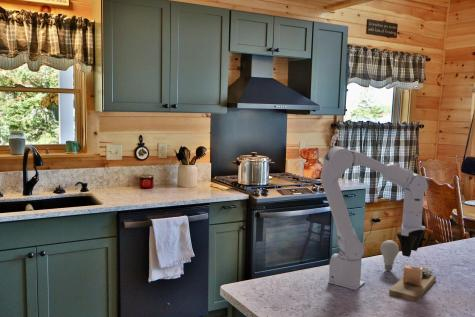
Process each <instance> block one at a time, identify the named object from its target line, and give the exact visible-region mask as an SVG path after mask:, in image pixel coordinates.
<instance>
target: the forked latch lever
mask: <svg viewBox="0 0 475 317" xmlns="http://www.w3.org/2000/svg"><path fill="white" fill-rule="evenodd" d="M422 271H423V269H421V268H416V266H411V265H405V266H404V267H403V274H402V275H403V277H402V278H403V282H405V283H408V284H412V285H417V286H420V285H421V284H422V277H427V278H428V276H429V275H432V273H433V270H431V269H428V272H427V273H426V274H422Z"/></svg>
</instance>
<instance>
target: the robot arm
mask: <svg viewBox="0 0 475 317" xmlns="http://www.w3.org/2000/svg"><path fill="white" fill-rule="evenodd" d="M357 166H363V167H365V168H368V169H370V170H372V171H375V172H377V173H380V174H381V176H382V178H383V180H384V181H386V182H389V183H391V184H393V185H396V186H399V187H400V188H403V189H404V194H403V206H402V219H401V220H402V221H401V222H402V223H401V229H400V230H401V232H400V231H399V232H397V233H396V237H397V239H398V241H399V244H400V249H401V250H400V251H401V255H402V256H403V257H408V258H410V257H411V255H412V251H413V252H417V251H418V249H419V245H420V242H421V239H422V236H423V235H424V233H425V231H426V226H424V225H422V223H423V210H424V209H423V208H424V194H425V192H426V191H427V190H428V188H429V184H428V182H427V178H425V177H424V176H423V175H421V174H418V173H415V172H414V169H413V170H412V169H407V168H406V167H405V168H404V167H402V166H401V164H400V163H398V162H394V163H393V162H391V163H387V164H385V163H384V162H381V161H379V160H376V158H375V159H374V158H372V157H371V156H368V155H366V154H364V153H363V152H360V151H359V152H358V151H356V150H352V149H348V148H343V147H341V146H340V145H339V146H338V145H337V146H336V145H335V146H332V147H331V148H329V149H328V150H327V152H326V153H325V155H324V157H323V165H322V169H321V173H320V181H321V184H322V187H323V190H324V194H325V196H326V200H327V202H328V205H329V206H328V207H329V208H330V211H331V212H330V213H331V215H332V218H333V221H334V224H335V227H336V234H337V242H336V243H337V246H338V248H339V252H338V253H337V252H336V253H333V254H332V255H331V257H330V260H329V266H328V267H329V270H328V280H327V283H328V284H332V285H336V286H340V287H344V288H347V289H350V290H354V291H355V290H358V289H359V288H360V287H361V286H362V285H364V284H365V282H366V281H365V280H361V278H362V277H361V275H362V274H361V273H362V258H363V256H364V254H365V246H364V244H363V243H362V242H361V241H360V240H359V237H358V234H357V232H356V231H355V228H354V227H353V224H352V221H351V217H350V214H349V210H348V208H347V205H346V201H345V199H344V196H343V193H342V190H341V186H340V183H339V180H340V178H341V176H342V175H343V173H344V172H346V171H347V170H349V169H350V168H351V167H357Z"/></svg>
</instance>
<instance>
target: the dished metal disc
mask: <svg viewBox="0 0 475 317" xmlns="http://www.w3.org/2000/svg"><path fill="white" fill-rule="evenodd" d="M415 267H416V268H421V269H423V271H422V274H425V273H427V272H428V271H429V268H428V267H425V266H422V265H421V266H420V265H416V266H415Z"/></svg>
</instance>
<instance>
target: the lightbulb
mask: <svg viewBox="0 0 475 317" xmlns="http://www.w3.org/2000/svg"><path fill="white" fill-rule="evenodd" d="M379 248H380V253H381V255H382V257H383V263H384V270H385V271H386V272H390V271H393V265H394V264H395V263H394V262H395V259H396V258H397V256H398V254H399V252H400V247H399V245H398V243H397V242H396V241H394V240H391V239H386V240H384V241H383V242H382V243H381V244H380V247H379Z"/></svg>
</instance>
